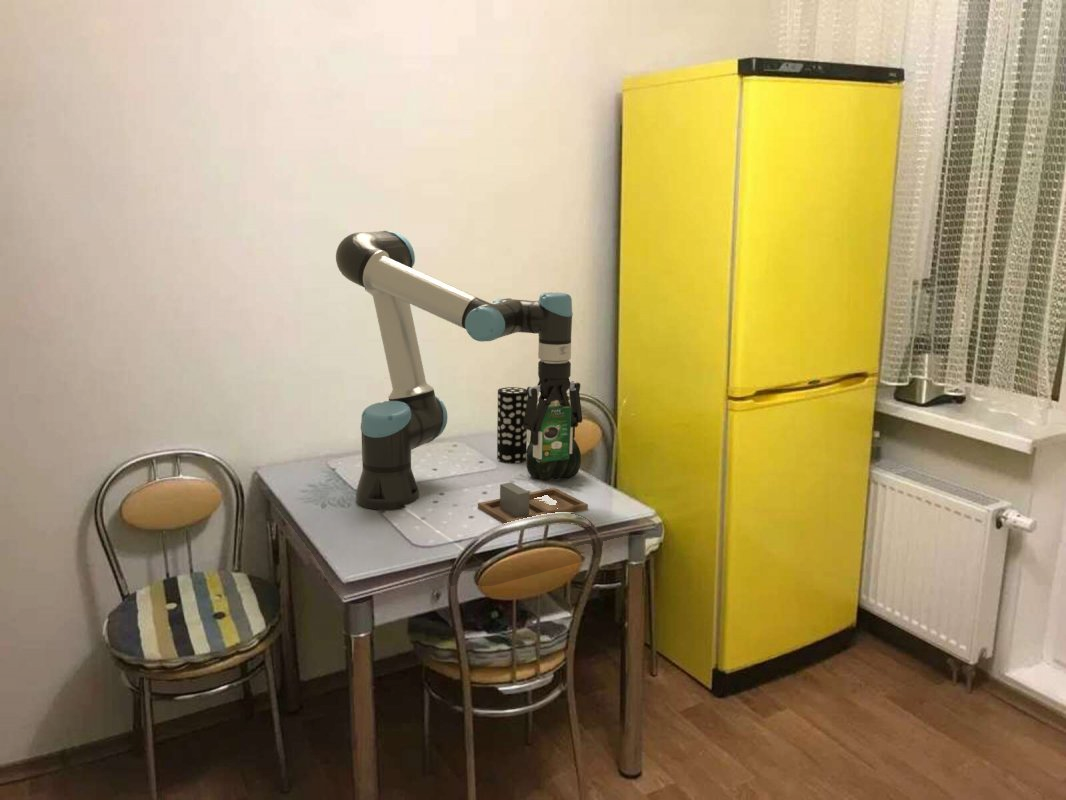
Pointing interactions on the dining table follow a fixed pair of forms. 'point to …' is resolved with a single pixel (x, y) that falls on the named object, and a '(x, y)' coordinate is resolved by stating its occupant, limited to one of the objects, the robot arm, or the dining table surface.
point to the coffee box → (556, 434)
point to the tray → (536, 505)
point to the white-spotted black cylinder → (511, 425)
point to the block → (514, 500)
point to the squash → (554, 465)
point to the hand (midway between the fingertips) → (552, 454)
